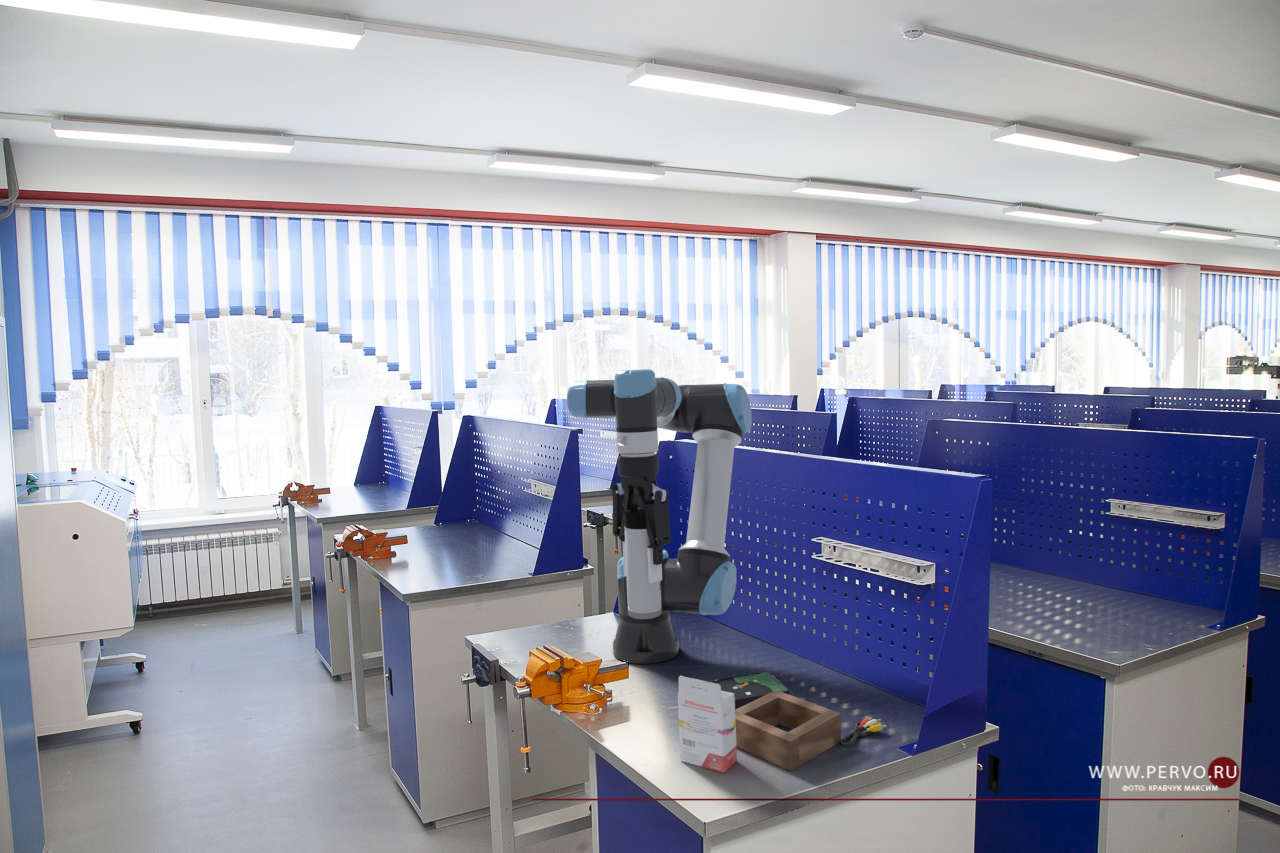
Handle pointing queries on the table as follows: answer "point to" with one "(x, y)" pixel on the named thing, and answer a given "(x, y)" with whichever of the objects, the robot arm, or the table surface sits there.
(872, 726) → the composite cable
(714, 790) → the table surface
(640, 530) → the travel mug
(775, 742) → the mug holder
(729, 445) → the robot arm
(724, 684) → the disk drive
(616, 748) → the table surface
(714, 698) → the ink cartridge box
